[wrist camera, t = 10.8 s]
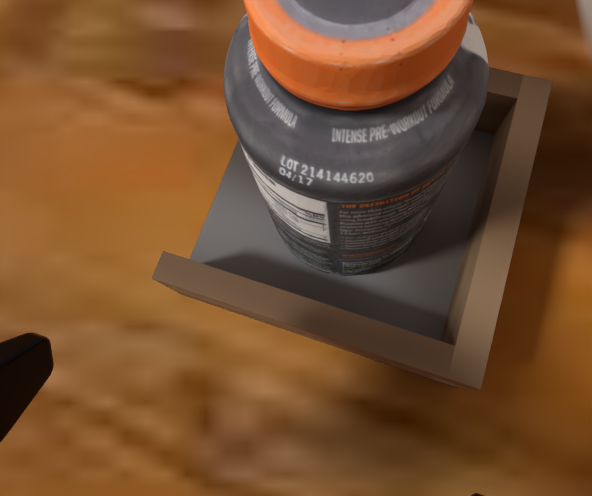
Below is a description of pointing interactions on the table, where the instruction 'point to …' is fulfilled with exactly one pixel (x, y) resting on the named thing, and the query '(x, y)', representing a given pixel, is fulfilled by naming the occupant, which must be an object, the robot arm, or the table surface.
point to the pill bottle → (354, 118)
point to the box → (398, 275)
